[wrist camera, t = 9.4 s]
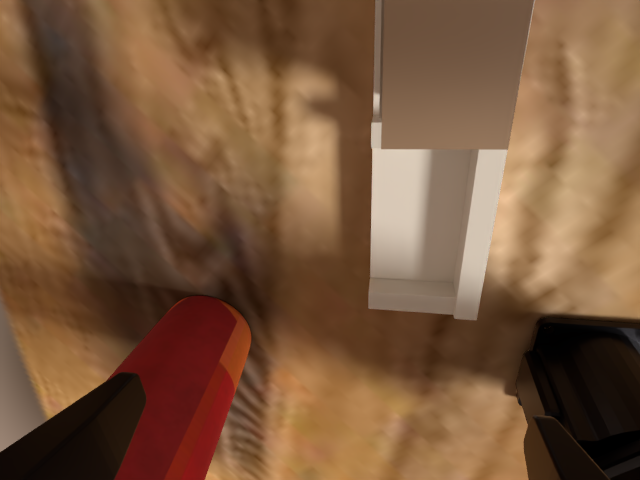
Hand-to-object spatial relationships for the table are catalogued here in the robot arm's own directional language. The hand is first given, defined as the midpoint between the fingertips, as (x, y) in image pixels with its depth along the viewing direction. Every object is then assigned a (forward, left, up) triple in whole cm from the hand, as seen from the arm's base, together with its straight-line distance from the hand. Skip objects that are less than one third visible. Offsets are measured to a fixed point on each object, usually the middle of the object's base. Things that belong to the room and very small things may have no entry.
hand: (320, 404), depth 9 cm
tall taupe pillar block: (-3, -7, -11) cm, 14 cm away
